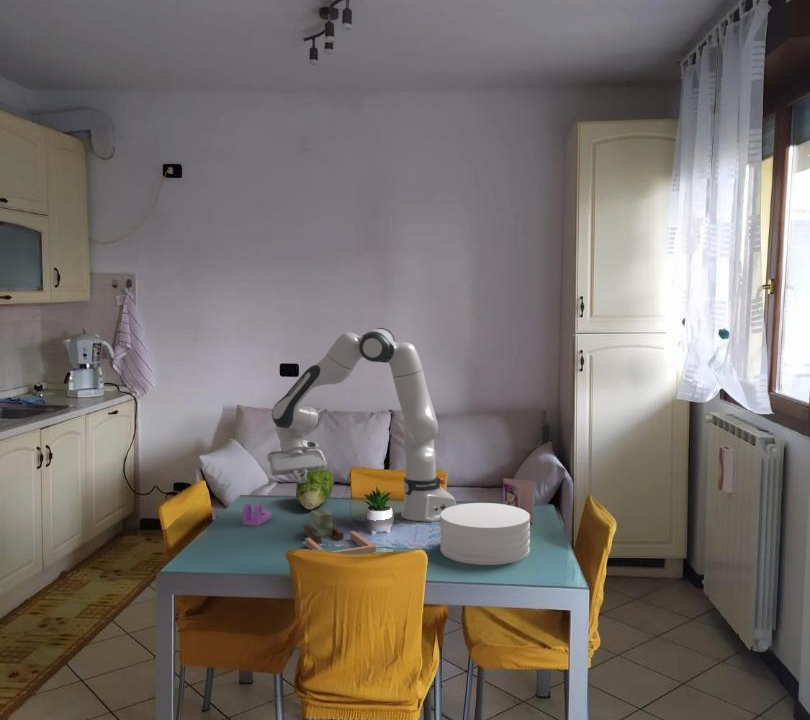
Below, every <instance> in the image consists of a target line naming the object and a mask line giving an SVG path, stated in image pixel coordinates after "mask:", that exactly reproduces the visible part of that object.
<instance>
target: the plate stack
mask: <svg viewBox="0 0 810 720" xmlns="http://www.w3.org/2000/svg"><path fill="white" fill-rule="evenodd" d="M440 519H441V520H440V521H439V523H440V525H439V526H440V533H439V534H440V535H439V536H440V549H439V550H440V552H441V554H442V555H443V556H445V557H446V558H448V559H451V560H453V561H456V562H459V563H464V564H470V565H480V566H482V565H483V566H496V565H507V564H512V563H516V562H520V561H522V560H524V559H526V558H527V557H528V556H530V552H531V547H530V545H531V539H530V538H531V531H530V530H531V524H530V523H529V522H530V515H529V513H528V512H526V511H525V510H523V509H520V508H517V507H514V506H510V505H504V504H503V503H493V502H492V503H491V502H472V503H471V502H470V503H460V504H456V505H455V506H451V507H449V508H446V509H444V510H443V511H442V512H441V514H440Z"/></svg>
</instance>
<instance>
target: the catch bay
mask: <svg viewBox="0 0 810 720" xmlns="http://www.w3.org/2000/svg"><path fill="white" fill-rule="evenodd" d="M349 533H350V534H349V535H350V538H351V539H352V540H354V541H355V542H356V543H357V544H356V543H355V542H354V541H353V542H354V543H355V544H356V545H358V544H359V545H360V546H361V547H360V546H359V545H358V546H359V547H350V548H345V549H339V550H332V551H330V552H335V553H342V554H366V553H373V552H376V553H377V550H376V548H377V547H376V545H374V544H373V543H372V542H371V541H369V540H368V539H366V538H365V537H364V536H362V535H361V534H360V533H358V532H356V530H353V531H350V532H349ZM350 538H349V539H350ZM304 539H305V541H304V543H305V547H306V548H307V547H308V548H309V549H308V548H307V549H308V550H310V549H316V550H323V551H326V550H325V549H324V548H322V546H320V544H317V543H316V542H314V541H313V540H312V539H311V538H309V537H306V538H304ZM351 539H350V540H351ZM352 540H351V541H352Z"/></svg>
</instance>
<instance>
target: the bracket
mask: <svg viewBox="0 0 810 720" xmlns="http://www.w3.org/2000/svg"><path fill="white" fill-rule="evenodd" d="M242 516H243V517H242V518H243V523H242V524H243V525H244V524H245V525H248V526H260V525H261V524H262V523H264V522H265V521H267V520H269V519H270V518H272V513H271V512H270V511H263V506H262V504H255V506H254V508H253V514H252V505H251V504H250V503H245V504H244V505H243V507H242Z"/></svg>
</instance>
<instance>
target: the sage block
mask: <svg viewBox="0 0 810 720" xmlns="http://www.w3.org/2000/svg"><path fill="white" fill-rule="evenodd" d="M310 515H311V516H310V517H311V518H310V519H311V521H310V522H311V526H310V527H311V528H312V529H313V530H315V531H316V532H317V533H318V534H319V535H321V538H326V539H328V538H327V537H333V538H334V536H333V525H334V524H333V513H332V512H330V511H329V510H328V509H326V508H322V509H312V510H310Z"/></svg>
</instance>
